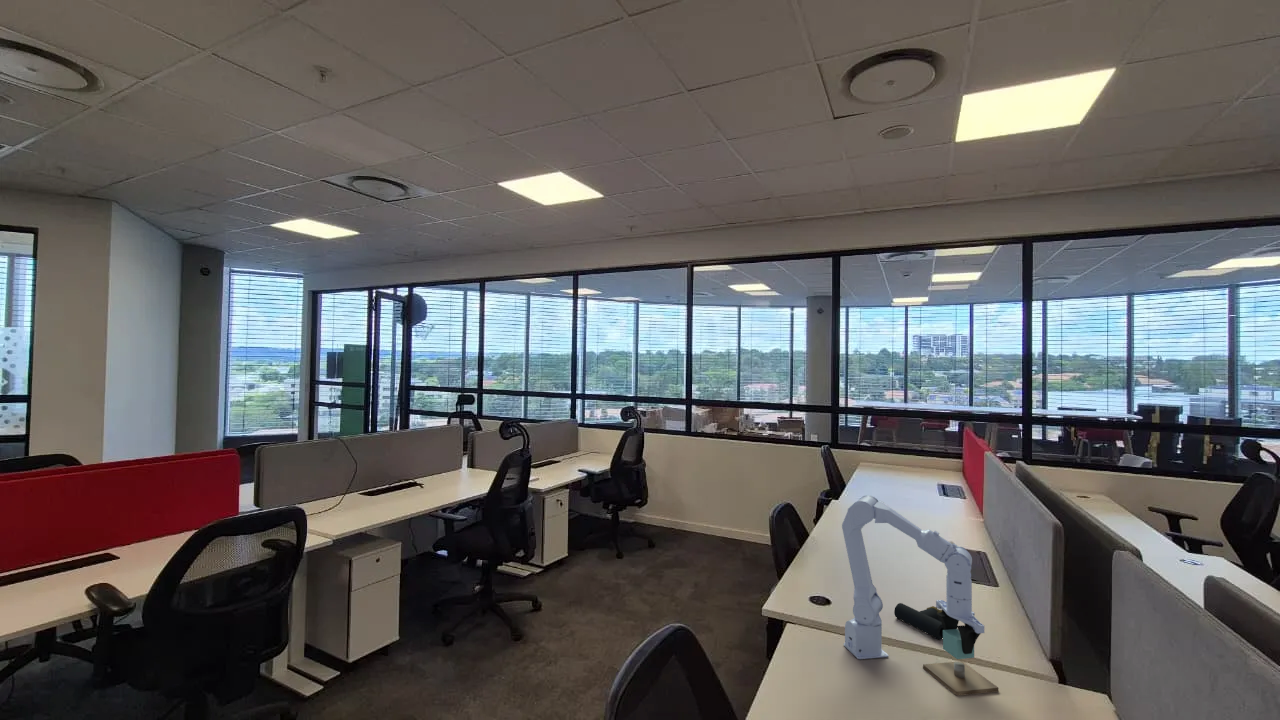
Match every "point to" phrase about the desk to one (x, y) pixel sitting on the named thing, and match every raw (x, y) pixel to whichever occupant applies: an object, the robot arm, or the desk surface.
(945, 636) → the teal cube
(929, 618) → the pipe connector
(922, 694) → the desk surface
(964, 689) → the base plate
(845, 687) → the desk surface
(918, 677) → the desk surface
